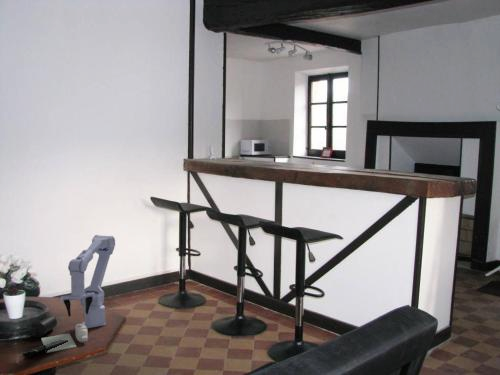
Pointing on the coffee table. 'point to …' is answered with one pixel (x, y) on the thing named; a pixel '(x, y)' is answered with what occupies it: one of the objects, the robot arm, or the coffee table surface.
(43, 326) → the end cap
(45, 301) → the coffee table surface
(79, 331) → the connector
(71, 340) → the mat
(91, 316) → the robot arm
